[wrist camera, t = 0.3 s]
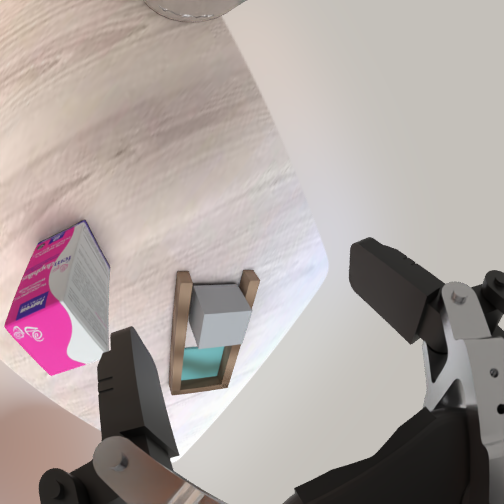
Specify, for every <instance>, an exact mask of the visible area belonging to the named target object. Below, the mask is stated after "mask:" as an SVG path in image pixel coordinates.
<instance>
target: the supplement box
mask: <svg viewBox="0 0 504 504" xmlns="http://www.w3.org/2000/svg"><path fill="white" fill-rule="evenodd" d="M109 280H110V266H109V264H108V262H107V260H106V258H105V257H104V255H103V253H102V251H101V250H100V248H99V246H98V244H97V242H96V240H95V238H94V236H93V234H92V232H91V230H90V228H89V226H88V224H87V222H86V221H85V220H83V221H81V222H80V223H78V224H76V225H74V226H72V227H70V228H69V229H67V230H64V231H62V232H60V233H58V234H56V235H54V236H52V237H50V238H48V239H46V240H44V241H42V242H40V243H38V245H37V247H36V249H35V251H34V253H33V255H32V257H31V259H30V262H29V264H28V266H27V268H26V270H25V273H24V275H23V277H22V280H21V282H20V285H19V287H18V290H17V292H16V295H15V297H14V300H13V303H12V305H11V308H10V311H9V314H8V317H7V319H6V322H5V326H4V327H5V328H6V330H7V331H8V332H9V333H10V334H11V336H12V337H13V338H14V339H15V340H16V341H17V342H18V343H19V344H20V345H21V346H22V347H23V348H24V349H25V350H26V351H27V352H28V353H29V355H30V356H31V357H32V358H33V359H34V360H35V361H36V362H37V363H38V364H39V365H40V366H41V367H42V368H43V369H44V370H45V371H46V372H47V373H48V374H49V375H51V376H52V375H55V374H59V373H62V372H65V371H68V370H71V369H74V368H77V367H80V366H83V365H86V364H89V363H92V362H95V361H98V360H100V359H101V356H102V353H104V352H107V351H109V336H108V307H109Z"/></svg>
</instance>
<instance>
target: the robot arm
mask: <svg viewBox="0 0 504 504" xmlns="http://www.w3.org/2000/svg"><path fill="white" fill-rule="evenodd" d="M144 1H145V3H146V4H147V5H148V6H149V7H150V8H151V9H153V10H154V11H155V12H157V13H158V14H160V15H162V16H165V17H167V18H169V19H173V20H177V21H184V22H199V21H206V20H210V19H214V18H217V17H219V16H222V15H224V14H226V13H227V12H229V11H230V10H232V9H233V8H235V7H236V6H238V5H240V4H241V3H243V2H245V1H246V0H144ZM349 268H350V269H349V281H350V284H351V287H352V288H353V290H354V291H355V292H356V293H357V294H358V295H359V296H360V297H361V298H362V299H363V300H364V301H366V302H367V303H368V304H369V305H370V306H371V307H372V308H373V309H374V310H375V311H376V312H377V313H378V314H379V315H380V316H382V318H383V319H385V320H386V321H387V322H388V323H389V324H390V325H391V326H392V327H393V328H394V329H395V330H396V331H397V332H398V333H399V334H400V335H401V336H402V337H403V338H404V339H405V340H406V341H408V343H409V344H413V343H414V342H415V341H417V340H418V339H419V338H421V339H423V344H422V350H423V357H424V366H425V375H426V384H427V391H426V396H425V400H424V405H423V409H422V410H420V411H419V412H418V413H417V414H416V415H414V416H413V417H412V418H411V419H409V420H408V421H407V422H405V423H404V424H403V425H402V426H400V427H399V428H398V429H397V430H396V431H395V433H394V434H393V435H392V436H391V437H390V438H389V440H388V441H387V442H386V443H385V444H384V445H383V446H382V447H381V449H380V450H379V451H378V452H377V453H376V454H375V455H373V456H372V457H370V458H367V459H364V460H361V461H358V462H355V463H352V464H349V465H346V466H343V467H339V468H336V469H333V470H330V471H328V472H327V473H325V474H323V475H321V476H319V477H317V478H315V479H313V480H311V481H309V482H306V483H304V484H302V485H300V486H298V487H296V488H294V489H295V494H294V495H292V496H291V497H290V498H288V499H287V500H286V501H285V502H284V503H283V504H504V331H503V330H502V329H501V328H500V327H499V326H498V323H499V321H500V319H501V317H502V315H503V314H504V273H503V272H501V271H496V270H492V271H489V272H488V273H487V274H486V276H485V279H484V281H483V284H481V285H478V286H475V287H469V286H468V285H466V284H464V283H461V282H449V283H447V284H445V283H443V282H442V281H441V280H439V279H438V278H436V277H435V276H434V275H432V274H431V273H430V272H428V271H427V270H425V269H424V268H422V267H421V266H420V265H418V264H415V262H414V261H413V260H411V259H410V258H407V256H406V255H404V254H403V253H401V252H400V251H398V250H397V249H394V248H391V247H388V246H385V245H382V244H381V243H379V242H378V241H376V240H375V239H373V238H371V237H368V238H366V239H363V240H361V241H359V242H356V243H354V244H352V246H351V248H350V266H349ZM110 338H111V350H110V351H107V352H104V353H102V356H101V359H100V361H99V364H98V366H97V371H98V382H99V383H98V392H99V395H98V396H99V411H100V423H101V432H102V442H101V443H100V444H99V445H98V446H97V447H96V449H95V452H94V454H93V459H92V461H90V462H89V463H87V464H85V465H83V466H82V467H80V468H78V469H76V470H75V471H72V472H71V473H67V472H65V471H63V470H61V469H58V468H53V469H50V470H48V471H46V472H45V473H44V474H43V475H42V477H41V479H40V482H39V495H40V501H41V504H227V503H225V502H223V501H222V500H220V499H218V498H216V497H214V496H213V495H211V494H209V493H207V492H206V491H204V490H202V489H201V488H199V487H198V486H196V485H194V484H193V483H191V482H189V481H188V480H187V479H185V478H183V477H182V476H180V475H179V474H177V473H176V472H174V471H173V468H172V464H171V461H170V458H172V457H175V456H179V453H178V449H177V446H176V443H175V439H174V436H173V432H172V429H171V425H170V422H169V418H168V414H167V410H166V406H165V402H164V398H163V394H162V390H161V385H160V381H159V377H158V372H157V369H156V366H155V363H154V361H153V359H152V357H151V355H150V353H149V352H148V350H147V348H146V347H145V345H144V344H143V342H142V340H141V339H140V337H139V335H138V334H137V332H136V330H135V329H134V328H133V327H132V326H131V327H128V328H125V329H122V330H119V331H116V332H113V333H111V337H110Z"/></svg>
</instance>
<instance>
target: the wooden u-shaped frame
mask: <svg viewBox="0 0 504 504" xmlns="http://www.w3.org/2000/svg"><path fill="white" fill-rule="evenodd" d="M259 283H260V279H259V278H258V277H257V275H256V274H255V272H254V271H253V270H243V274H242V278H241V281H240V285H239V288H240V290H241V292H242V293H243V295H244V297H245V299H246V300H247V302H248V304H249V306H250V307H251V309H252V306H253V303H254V299H255V296H256V293H257V289H258V286H259ZM192 285H193V282H192V279H191V277H190V274H189V271H184V272H177V279H176V288H175V299H174V310H173V322H172V336H171V351H170V370H169V387H170V391H171V394H172V395H179V394H188V393H196V392H203V391H210V390H216V389H223V388H228V385H229V382H230V378H231V375H232V372H233V369H234V365H235V362H236V359H237V356H238V352H239V349H240V346H241V344H239V345H231V346H222V347H214V348H204V349H198V347H191V348H185V339H186V330H187V322H188V314H189V307H190V299H191V292H192Z"/></svg>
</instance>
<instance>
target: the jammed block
mask: <svg viewBox="0 0 504 504" xmlns="http://www.w3.org/2000/svg"><path fill="white" fill-rule="evenodd" d="M251 313H252V309H251V307H250V306H249V304H248V302H247V300H246V299H245V297H244V295H243V293H242V292H241V290H240V288H239V286H238V285H237V284H228V285H202V286H193V293H192V300H191V307H190V315H189V322H190V326H191V329H192V332H193V334H194V337H195V340H196V343H197V346H198V349H204V348H214V347H222V346H231V345H239V344H242V343H243V340H244V336H245V333H246V330H247V327H248V323H249V320H250V317H251Z"/></svg>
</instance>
